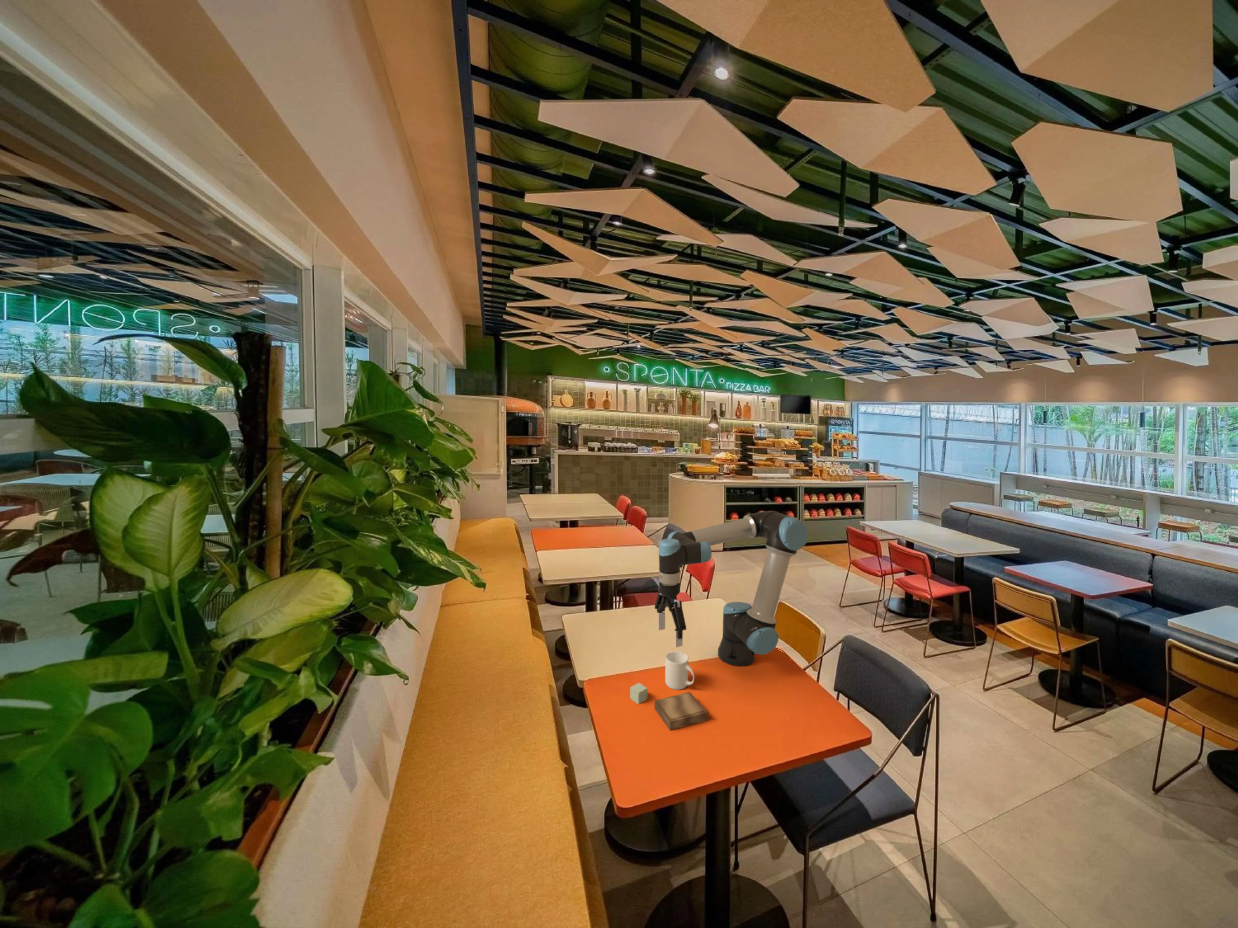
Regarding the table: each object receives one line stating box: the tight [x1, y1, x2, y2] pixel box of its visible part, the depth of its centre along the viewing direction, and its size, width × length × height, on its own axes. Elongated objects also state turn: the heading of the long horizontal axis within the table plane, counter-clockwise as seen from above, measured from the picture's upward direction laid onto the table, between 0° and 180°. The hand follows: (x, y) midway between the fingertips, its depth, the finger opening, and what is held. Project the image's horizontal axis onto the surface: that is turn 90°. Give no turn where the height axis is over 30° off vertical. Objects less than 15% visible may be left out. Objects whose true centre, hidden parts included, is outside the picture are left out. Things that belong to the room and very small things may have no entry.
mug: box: [664, 651, 695, 691], centre depth 176 cm, size 9×12×11 cm
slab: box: [654, 691, 708, 731], centre depth 160 cm, size 14×12×3 cm
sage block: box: [629, 682, 648, 705], centre depth 169 cm, size 4×4×4 cm
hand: (669, 637), depth 171 cm, fingers open, 13 cm apart
